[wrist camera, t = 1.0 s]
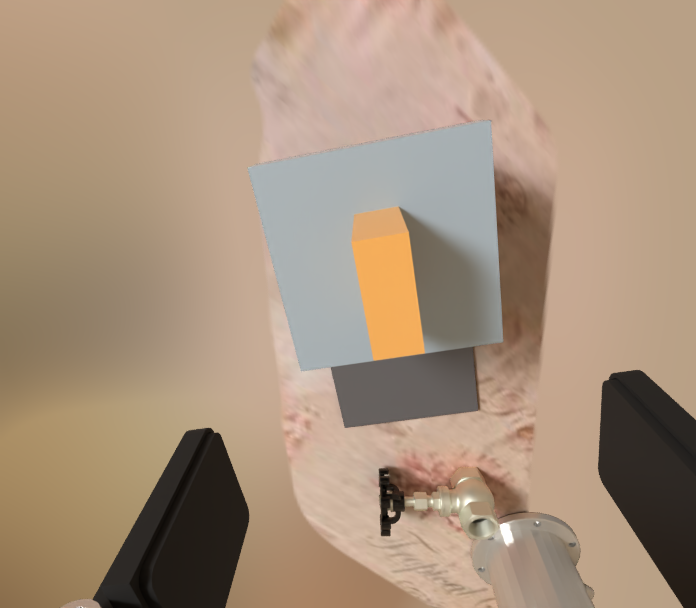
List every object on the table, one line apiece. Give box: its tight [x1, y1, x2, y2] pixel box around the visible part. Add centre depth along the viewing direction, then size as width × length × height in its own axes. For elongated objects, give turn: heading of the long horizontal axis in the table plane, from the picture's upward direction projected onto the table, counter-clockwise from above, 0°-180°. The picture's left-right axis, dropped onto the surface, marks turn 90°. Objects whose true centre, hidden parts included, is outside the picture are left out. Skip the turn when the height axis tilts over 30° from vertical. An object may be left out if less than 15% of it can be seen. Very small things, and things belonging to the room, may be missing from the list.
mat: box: [331, 347, 478, 428], centre depth 43 cm, size 14×14×1 cm
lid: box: [248, 120, 503, 371], centre depth 24 cm, size 13×13×8 cm
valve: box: [379, 467, 500, 540], centre depth 46 cm, size 7×7×12 cm
